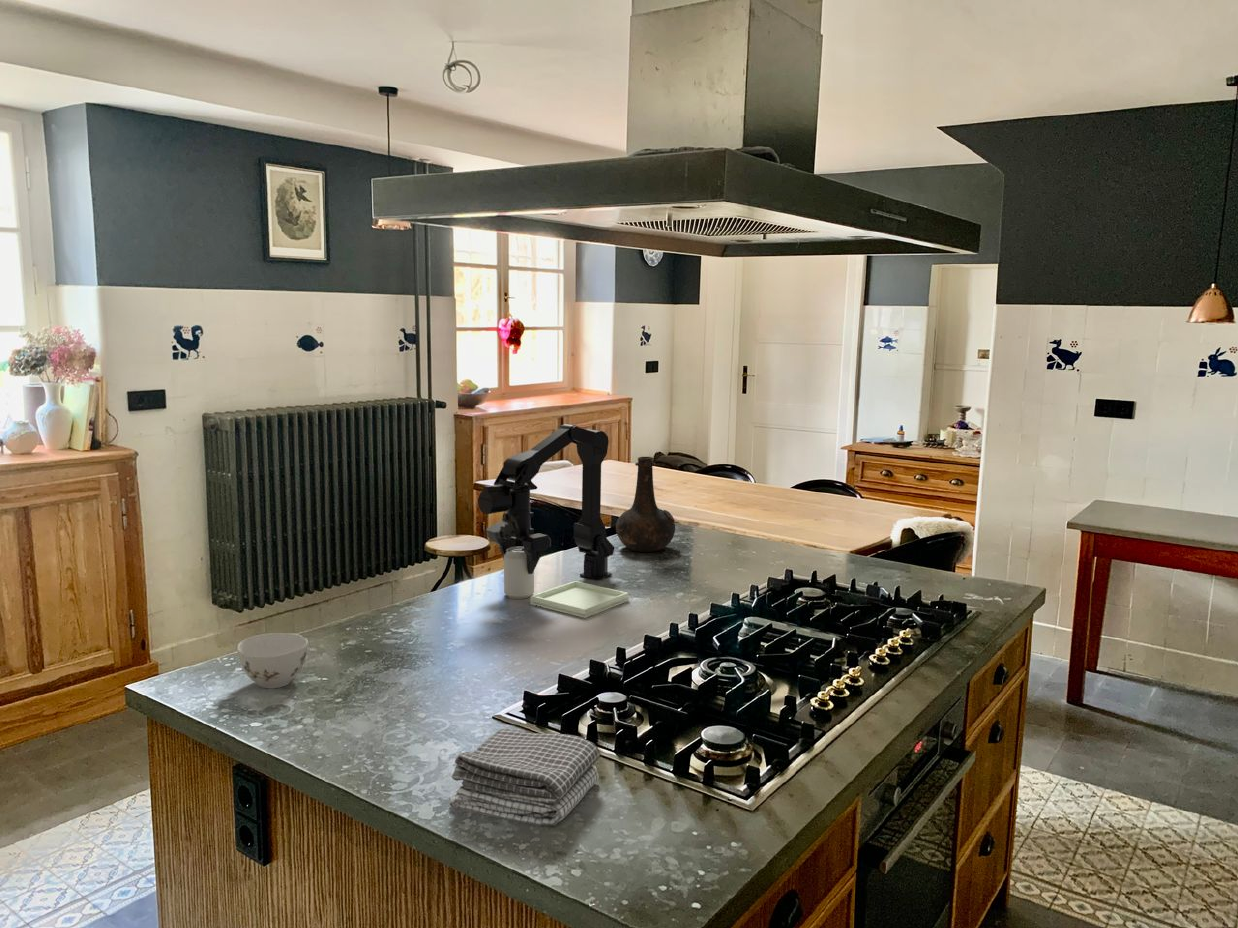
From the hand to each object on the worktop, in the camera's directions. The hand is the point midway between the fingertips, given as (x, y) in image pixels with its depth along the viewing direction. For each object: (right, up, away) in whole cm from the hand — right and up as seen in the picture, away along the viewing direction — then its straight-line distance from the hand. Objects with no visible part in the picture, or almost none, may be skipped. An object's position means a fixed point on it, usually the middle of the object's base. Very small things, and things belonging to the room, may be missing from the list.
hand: (519, 570), depth 232 cm
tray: (+15, -7, -4) cm, 18 cm away
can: (0, -7, +1) cm, 7 cm away
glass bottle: (+33, +1, +49) cm, 59 cm away
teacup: (-40, -15, -55) cm, 69 cm away
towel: (+11, -22, -96) cm, 99 cm away
